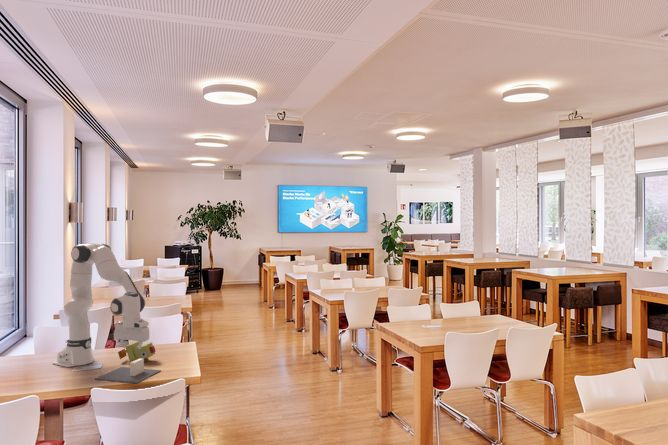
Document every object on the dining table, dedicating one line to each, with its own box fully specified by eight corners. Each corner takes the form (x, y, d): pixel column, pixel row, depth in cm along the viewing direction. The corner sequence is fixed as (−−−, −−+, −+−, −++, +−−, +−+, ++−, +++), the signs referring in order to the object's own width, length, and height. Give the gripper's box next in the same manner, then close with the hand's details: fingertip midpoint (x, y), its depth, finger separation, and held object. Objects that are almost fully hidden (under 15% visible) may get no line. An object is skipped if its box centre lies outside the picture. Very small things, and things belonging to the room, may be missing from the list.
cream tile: (130, 375, 259) (130, 362, 259) (140, 371, 267) (139, 358, 267) (134, 376, 258) (133, 363, 258) (144, 371, 266) (143, 358, 266)
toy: (121, 369, 283) (153, 360, 281) (115, 349, 283) (146, 340, 281) (129, 364, 293) (160, 355, 291) (123, 345, 293) (154, 336, 291)
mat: (94, 379, 256) (94, 378, 256) (121, 367, 275) (121, 366, 275) (136, 383, 249) (136, 382, 249) (160, 371, 268) (160, 370, 268)
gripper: (111, 322, 263) (111, 348, 263) (143, 325, 257) (143, 351, 257) (119, 320, 269) (119, 345, 269) (151, 322, 263) (151, 348, 263)
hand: (131, 348), depth 263 cm, fingers open, 8 cm apart
